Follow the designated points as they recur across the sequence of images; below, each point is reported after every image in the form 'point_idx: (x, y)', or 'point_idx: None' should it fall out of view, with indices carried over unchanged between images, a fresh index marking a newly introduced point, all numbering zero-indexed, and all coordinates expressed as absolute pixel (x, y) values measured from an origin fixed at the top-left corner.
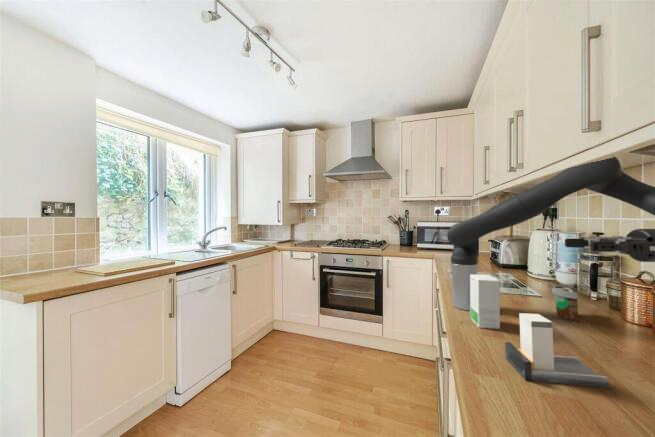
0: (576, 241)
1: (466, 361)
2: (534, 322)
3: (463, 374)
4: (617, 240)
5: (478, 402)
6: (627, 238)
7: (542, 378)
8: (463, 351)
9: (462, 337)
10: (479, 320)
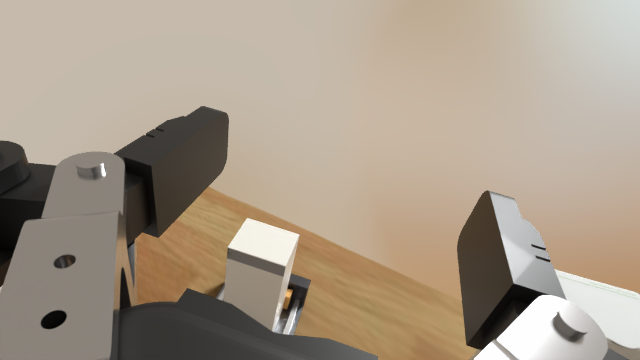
0: (485, 250)
1: (303, 240)
2: (244, 224)
3: (269, 217)
4: (121, 216)
5: (211, 198)
6: (26, 349)
7: (218, 295)
8: (337, 255)
9: (399, 288)
10: (477, 350)
